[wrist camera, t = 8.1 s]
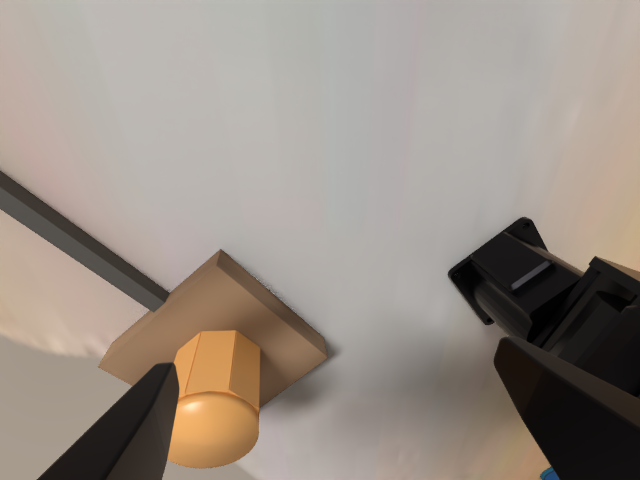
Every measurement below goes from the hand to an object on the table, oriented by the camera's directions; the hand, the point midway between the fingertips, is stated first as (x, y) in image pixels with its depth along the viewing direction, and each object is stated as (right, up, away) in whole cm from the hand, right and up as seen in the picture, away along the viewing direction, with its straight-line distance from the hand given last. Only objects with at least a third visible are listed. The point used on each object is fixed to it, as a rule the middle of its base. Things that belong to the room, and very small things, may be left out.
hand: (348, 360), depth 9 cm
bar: (-16, +5, +8) cm, 18 cm away
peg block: (-8, -4, +14) cm, 16 cm away
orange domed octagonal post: (-7, -5, +12) cm, 15 cm away
